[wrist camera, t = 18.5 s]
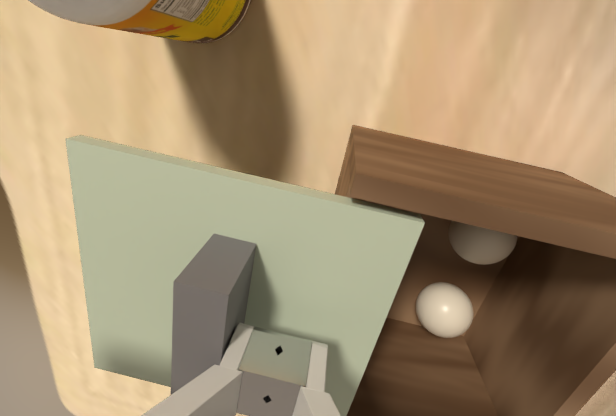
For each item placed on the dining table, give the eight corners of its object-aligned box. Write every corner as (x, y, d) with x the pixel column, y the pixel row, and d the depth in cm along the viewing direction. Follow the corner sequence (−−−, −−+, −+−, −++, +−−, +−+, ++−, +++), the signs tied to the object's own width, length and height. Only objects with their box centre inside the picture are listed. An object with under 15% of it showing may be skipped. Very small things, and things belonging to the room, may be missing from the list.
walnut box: (352, 124, 16) (356, 173, 8) (561, 172, 16) (767, 268, 8) (307, 300, 21) (283, 433, 13) (466, 339, 21) (536, 498, 13)
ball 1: (421, 266, 18) (433, 300, 16) (471, 278, 18) (492, 314, 16) (404, 305, 20) (413, 342, 17) (451, 316, 20) (467, 355, 17)
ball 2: (454, 189, 16) (475, 213, 14) (510, 202, 16) (543, 229, 14) (433, 238, 18) (449, 268, 15) (485, 250, 18) (511, 283, 15)
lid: (81, 134, 10) (-28, 160, 7) (420, 214, 9) (451, 275, 7) (104, 355, 14) (42, 428, 11) (340, 415, 14) (338, 506, 11)
